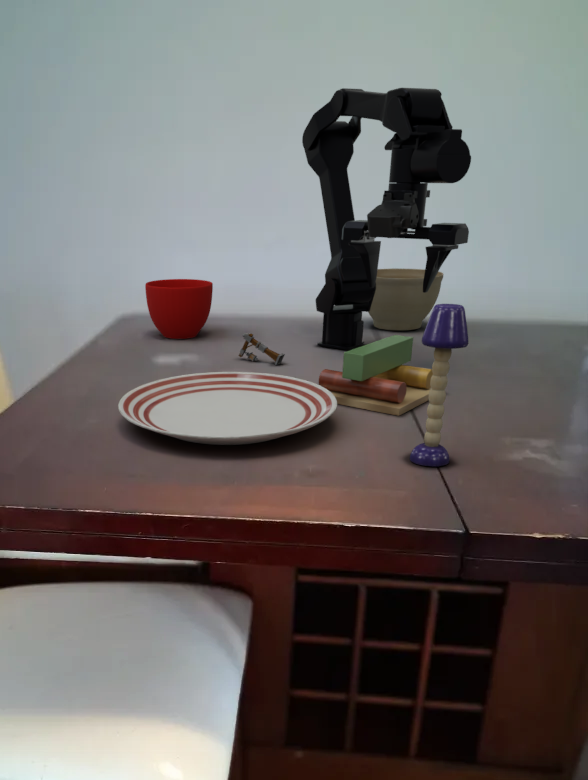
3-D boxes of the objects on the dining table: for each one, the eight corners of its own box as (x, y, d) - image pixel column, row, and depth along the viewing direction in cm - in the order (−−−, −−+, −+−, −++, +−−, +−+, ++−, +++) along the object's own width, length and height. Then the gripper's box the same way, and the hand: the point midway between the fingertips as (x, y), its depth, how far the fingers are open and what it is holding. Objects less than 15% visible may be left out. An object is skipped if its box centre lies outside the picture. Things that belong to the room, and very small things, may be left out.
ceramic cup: (235, 330, 151) (235, 279, 147) (189, 345, 138) (188, 289, 134) (182, 324, 158) (181, 275, 154) (133, 337, 145) (131, 284, 141)
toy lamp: (402, 453, 84) (419, 301, 77) (442, 451, 84) (462, 301, 78) (417, 468, 80) (435, 309, 73) (459, 466, 80) (481, 308, 73)
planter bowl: (376, 317, 164) (380, 266, 159) (448, 325, 155) (455, 271, 151) (343, 329, 152) (347, 273, 147) (419, 338, 143) (426, 279, 139)
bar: (341, 378, 100) (343, 352, 99) (392, 358, 111) (394, 334, 109) (361, 381, 98) (364, 355, 97) (411, 361, 109) (413, 337, 107)
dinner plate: (273, 476, 78) (274, 446, 76) (74, 433, 91) (71, 407, 90) (368, 411, 99) (370, 387, 97) (195, 384, 112) (195, 362, 111)
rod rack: (307, 398, 105) (308, 371, 104) (355, 378, 115) (357, 354, 113) (398, 415, 97) (401, 387, 95) (442, 393, 107) (445, 367, 105)
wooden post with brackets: (237, 352, 128) (247, 328, 126) (274, 375, 126) (285, 352, 124) (232, 353, 127) (242, 330, 124) (270, 378, 125) (280, 355, 122)
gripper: (327, 183, 112) (321, 290, 118) (446, 183, 101) (432, 301, 107) (362, 183, 120) (355, 283, 126) (476, 183, 109) (462, 292, 115)
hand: (397, 289), depth 119 cm, fingers open, 9 cm apart
